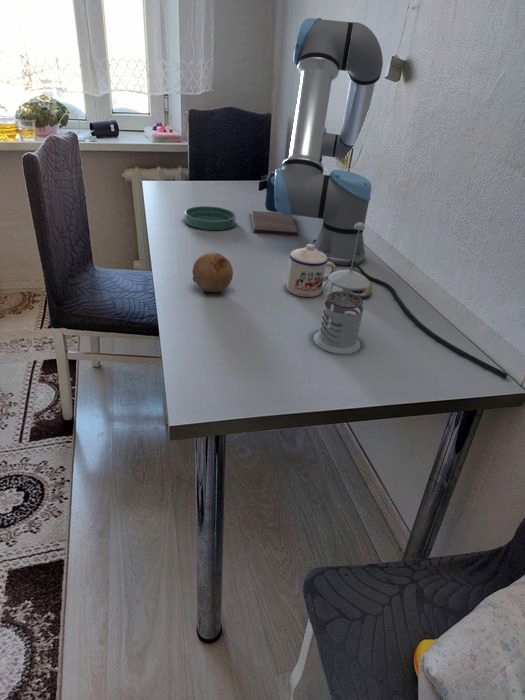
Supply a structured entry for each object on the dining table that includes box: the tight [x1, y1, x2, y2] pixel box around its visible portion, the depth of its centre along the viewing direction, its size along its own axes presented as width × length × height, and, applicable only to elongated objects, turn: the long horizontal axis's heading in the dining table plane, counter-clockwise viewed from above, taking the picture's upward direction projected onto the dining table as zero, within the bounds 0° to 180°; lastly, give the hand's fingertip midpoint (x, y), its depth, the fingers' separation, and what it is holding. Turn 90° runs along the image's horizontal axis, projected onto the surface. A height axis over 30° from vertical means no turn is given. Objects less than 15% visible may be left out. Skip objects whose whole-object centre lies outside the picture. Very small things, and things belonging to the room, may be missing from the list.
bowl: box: [184, 205, 236, 231], centre depth 161 cm, size 16×16×3 cm
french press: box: [313, 222, 371, 355], centre depth 97 cm, size 10×12×25 cm
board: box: [250, 210, 299, 237], centre depth 167 cm, size 20×14×1 cm
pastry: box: [343, 280, 373, 298], centre depth 125 cm, size 9×7×4 cm
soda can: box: [264, 169, 279, 213], centre depth 161 cm, size 7×7×12 cm
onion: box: [191, 252, 234, 293], centre depth 117 cm, size 10×9×10 cm
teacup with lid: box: [286, 243, 336, 298], centre depth 121 cm, size 12×9×12 cm
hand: (270, 188), depth 156 cm, fingers closed on soda can, 7 cm apart
